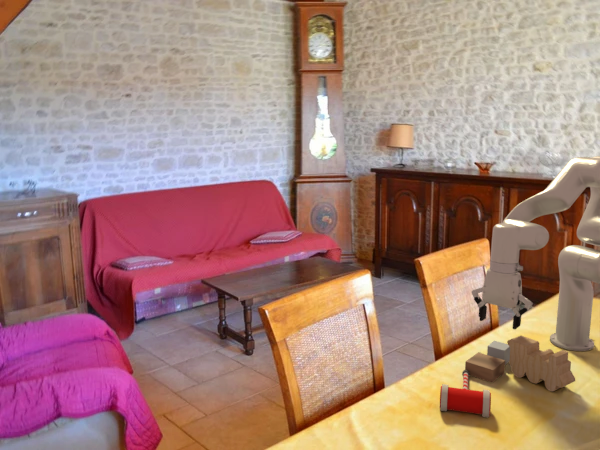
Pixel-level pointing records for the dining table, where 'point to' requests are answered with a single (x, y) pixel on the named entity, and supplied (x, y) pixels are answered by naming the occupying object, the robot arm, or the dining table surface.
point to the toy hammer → (465, 398)
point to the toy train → (539, 363)
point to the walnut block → (485, 367)
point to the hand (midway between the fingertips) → (498, 323)
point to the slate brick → (499, 351)
